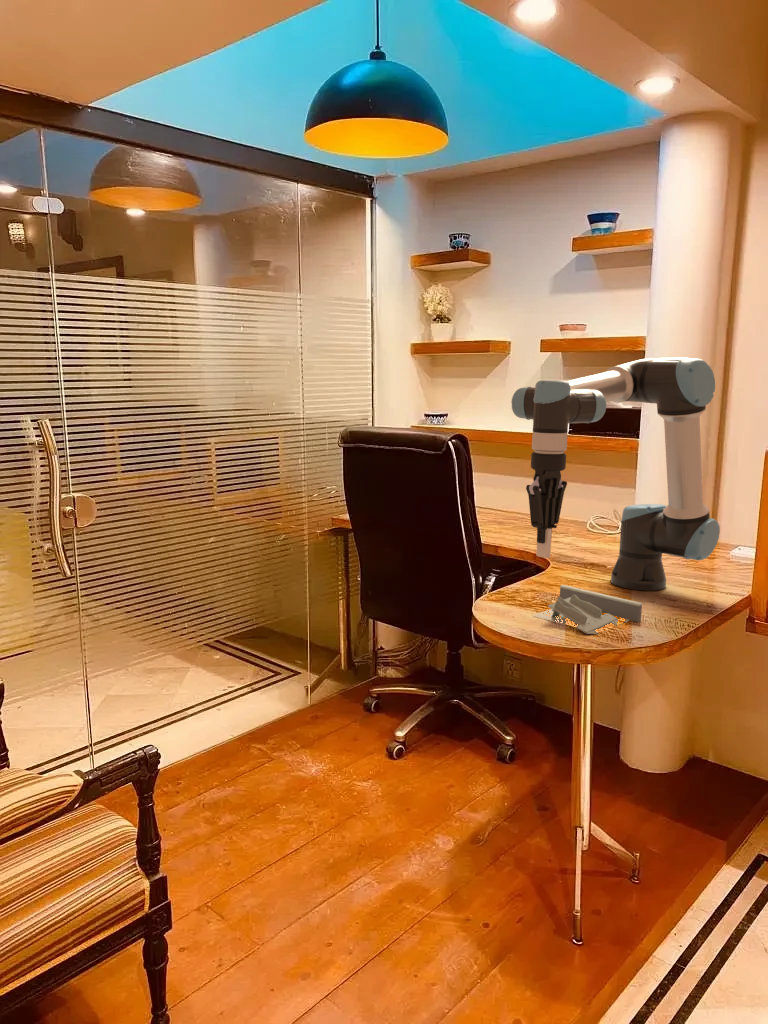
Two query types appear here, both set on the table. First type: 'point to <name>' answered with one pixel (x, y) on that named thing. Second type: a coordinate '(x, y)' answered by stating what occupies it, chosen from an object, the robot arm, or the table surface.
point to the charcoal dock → (598, 604)
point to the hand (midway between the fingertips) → (543, 556)
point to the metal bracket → (582, 614)
